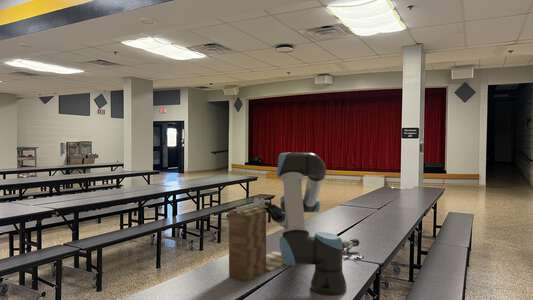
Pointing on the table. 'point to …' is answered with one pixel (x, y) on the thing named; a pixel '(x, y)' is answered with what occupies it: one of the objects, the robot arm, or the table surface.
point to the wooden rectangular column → (247, 244)
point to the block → (249, 207)
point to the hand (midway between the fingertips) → (258, 200)
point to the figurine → (349, 245)
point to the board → (273, 260)
